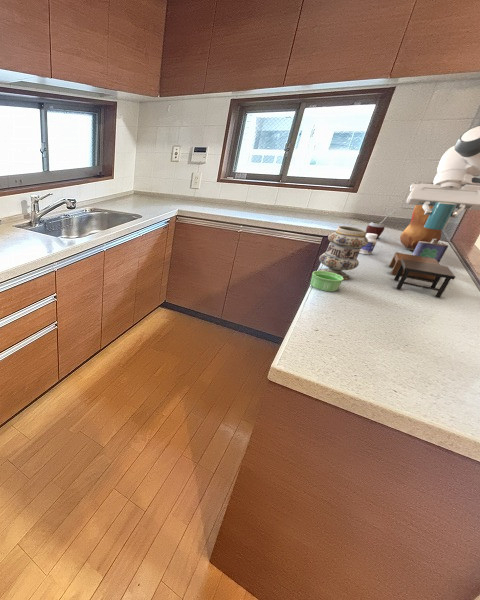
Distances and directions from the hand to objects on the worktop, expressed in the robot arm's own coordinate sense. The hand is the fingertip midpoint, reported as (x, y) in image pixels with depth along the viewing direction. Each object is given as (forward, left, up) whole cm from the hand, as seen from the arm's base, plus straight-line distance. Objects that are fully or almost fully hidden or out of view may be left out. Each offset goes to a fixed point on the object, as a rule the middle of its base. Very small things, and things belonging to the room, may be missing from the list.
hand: (440, 215), depth 116 cm
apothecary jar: (+24, +21, -23) cm, 39 cm away
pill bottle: (+14, -23, -23) cm, 36 cm away
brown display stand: (0, -1, -23) cm, 23 cm away
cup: (0, -1, -5) cm, 5 cm away
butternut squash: (-5, -44, -23) cm, 50 cm away
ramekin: (+26, +38, -23) cm, 51 cm away
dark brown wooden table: (0, +17, -23) cm, 29 cm away
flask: (-6, -22, -23) cm, 33 cm away
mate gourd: (+10, -60, -23) cm, 65 cm away
